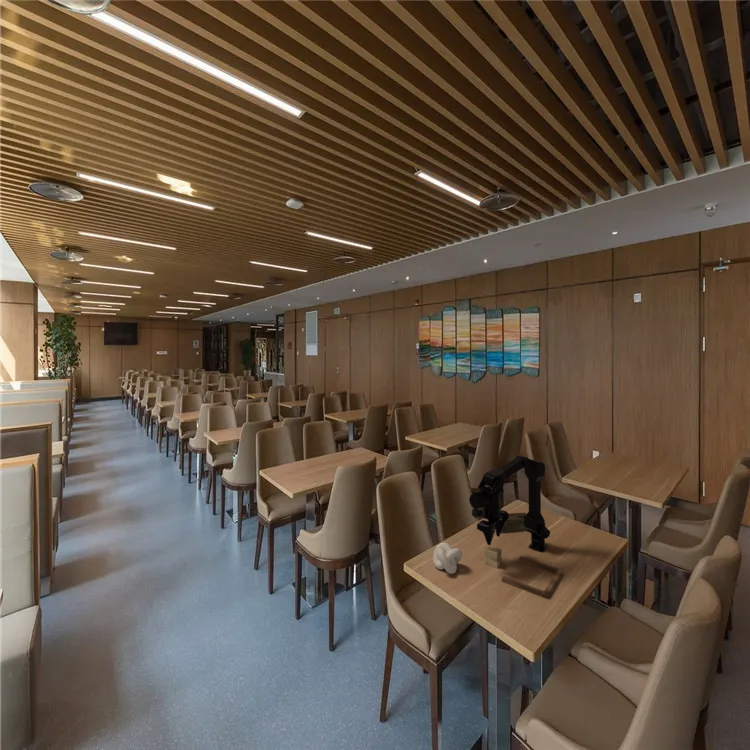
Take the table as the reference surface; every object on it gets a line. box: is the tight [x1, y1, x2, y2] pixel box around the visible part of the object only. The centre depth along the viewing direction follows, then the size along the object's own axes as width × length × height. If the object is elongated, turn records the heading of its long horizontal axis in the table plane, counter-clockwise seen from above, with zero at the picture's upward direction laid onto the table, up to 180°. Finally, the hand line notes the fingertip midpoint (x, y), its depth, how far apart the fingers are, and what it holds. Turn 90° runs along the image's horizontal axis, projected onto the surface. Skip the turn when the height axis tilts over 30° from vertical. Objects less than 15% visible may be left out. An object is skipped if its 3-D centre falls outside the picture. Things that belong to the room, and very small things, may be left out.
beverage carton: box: [494, 512, 528, 534], centre depth 185 cm, size 8×19×7 cm, turn 100°
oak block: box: [484, 545, 503, 569], centre depth 153 cm, size 5×5×6 cm
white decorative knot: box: [432, 542, 463, 575], centre depth 151 cm, size 11×12×9 cm
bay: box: [501, 556, 564, 600], centre depth 143 cm, size 20×16×2 cm
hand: (493, 540), depth 153 cm, fingers open, 9 cm apart
